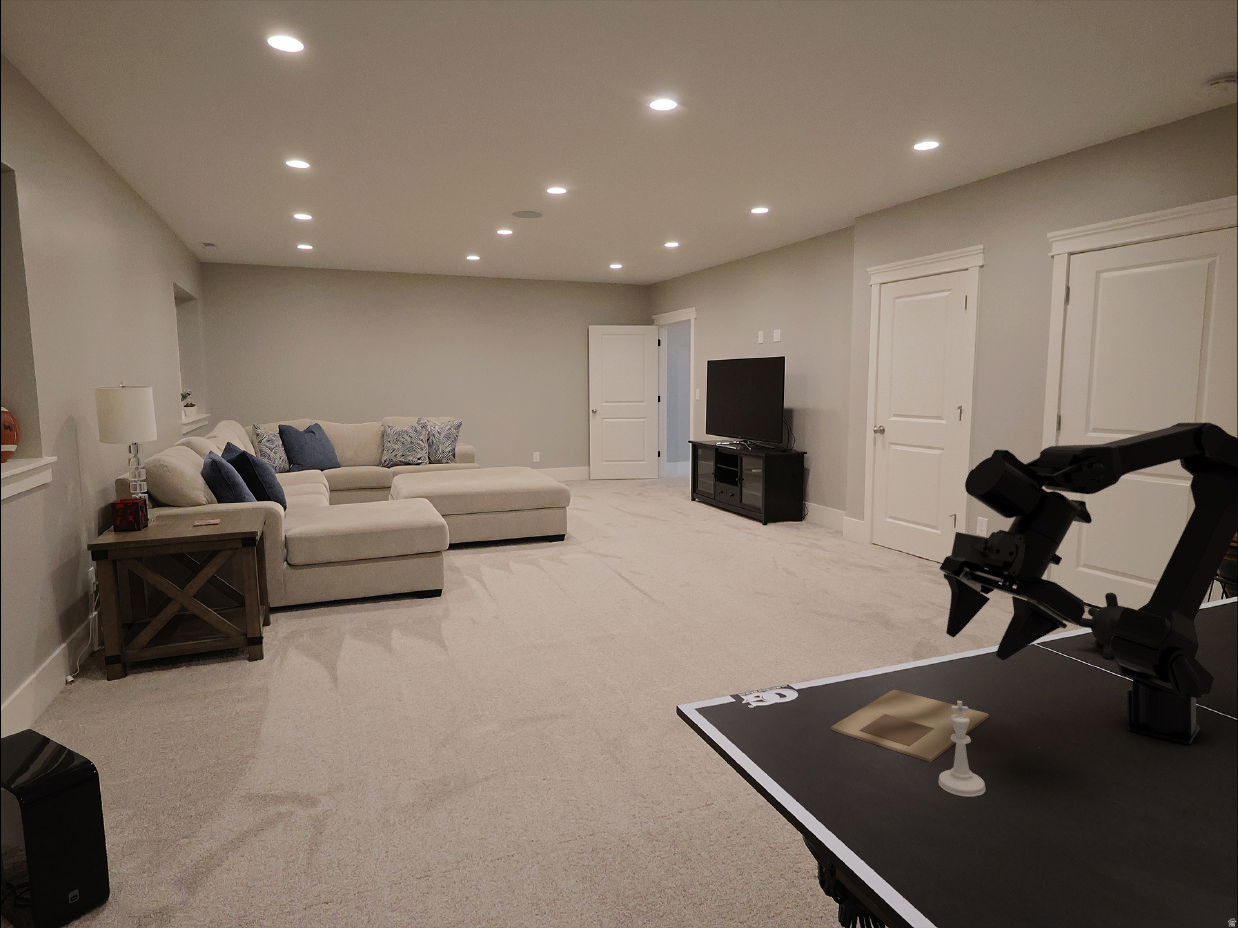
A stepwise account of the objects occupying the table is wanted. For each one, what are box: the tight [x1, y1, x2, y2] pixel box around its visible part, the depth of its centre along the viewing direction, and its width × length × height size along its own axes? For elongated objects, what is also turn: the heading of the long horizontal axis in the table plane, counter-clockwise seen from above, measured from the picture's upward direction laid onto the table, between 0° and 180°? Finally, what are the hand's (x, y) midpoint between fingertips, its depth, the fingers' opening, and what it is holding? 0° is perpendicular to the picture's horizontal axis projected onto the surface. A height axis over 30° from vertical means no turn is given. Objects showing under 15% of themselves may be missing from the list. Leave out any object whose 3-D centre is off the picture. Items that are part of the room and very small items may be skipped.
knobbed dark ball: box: [1078, 592, 1126, 660], centre depth 122 cm, size 11×11×12 cm
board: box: [830, 689, 990, 763], centre depth 100 cm, size 14×18×1 cm
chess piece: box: [938, 700, 986, 798], centre depth 83 cm, size 5×5×10 cm
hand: (973, 646), depth 88 cm, fingers open, 9 cm apart
